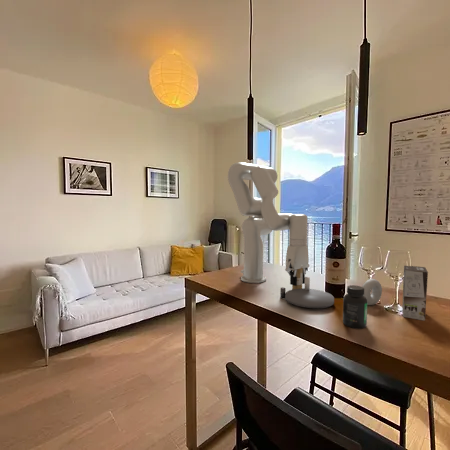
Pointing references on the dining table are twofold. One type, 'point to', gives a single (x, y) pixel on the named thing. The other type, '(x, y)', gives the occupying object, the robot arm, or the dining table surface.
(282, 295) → the stop dowel
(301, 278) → the sprinkles bottle
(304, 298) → the turntable
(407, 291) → the coffee box
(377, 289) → the donut
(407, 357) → the dining table surface
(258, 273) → the robot arm
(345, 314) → the supplement bottle
